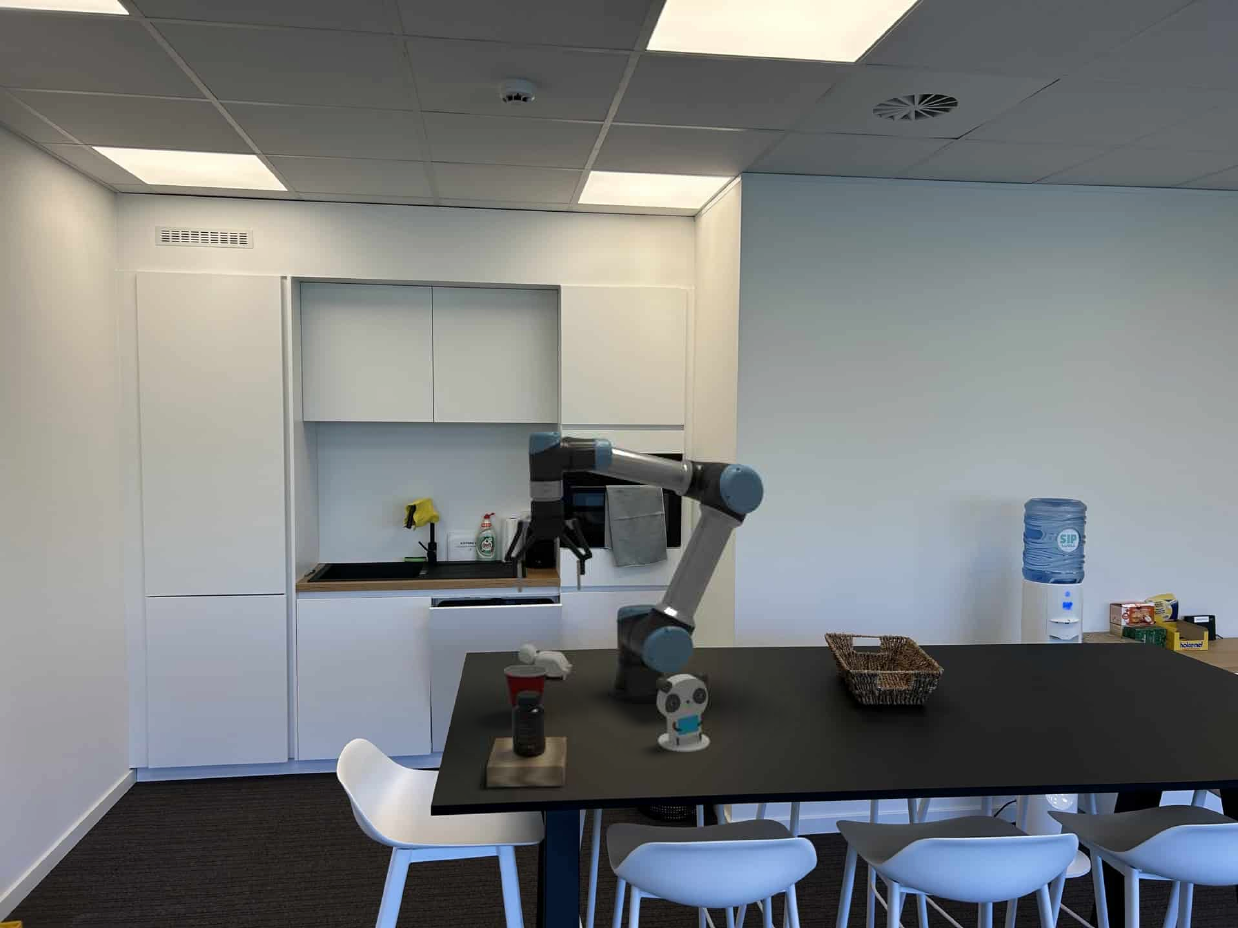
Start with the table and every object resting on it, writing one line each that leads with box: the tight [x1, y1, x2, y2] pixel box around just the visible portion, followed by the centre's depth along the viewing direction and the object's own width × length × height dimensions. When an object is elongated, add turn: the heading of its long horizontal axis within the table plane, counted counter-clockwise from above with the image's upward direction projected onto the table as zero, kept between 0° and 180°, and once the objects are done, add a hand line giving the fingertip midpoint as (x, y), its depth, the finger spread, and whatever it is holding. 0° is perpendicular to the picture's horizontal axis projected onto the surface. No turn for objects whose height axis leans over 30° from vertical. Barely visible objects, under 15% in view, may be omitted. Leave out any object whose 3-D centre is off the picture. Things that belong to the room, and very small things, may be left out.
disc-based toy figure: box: [655, 670, 711, 753], centre depth 193 cm, size 12×11×15 cm
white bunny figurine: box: [517, 643, 573, 681], centre depth 242 cm, size 9×8×15 cm
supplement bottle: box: [511, 691, 547, 757], centre depth 178 cm, size 7×7×12 cm
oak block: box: [486, 736, 568, 788], centre depth 179 cm, size 15×15×4 cm
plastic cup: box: [503, 664, 549, 710], centre depth 209 cm, size 11×11×12 cm
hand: (549, 590), depth 202 cm, fingers open, 13 cm apart
